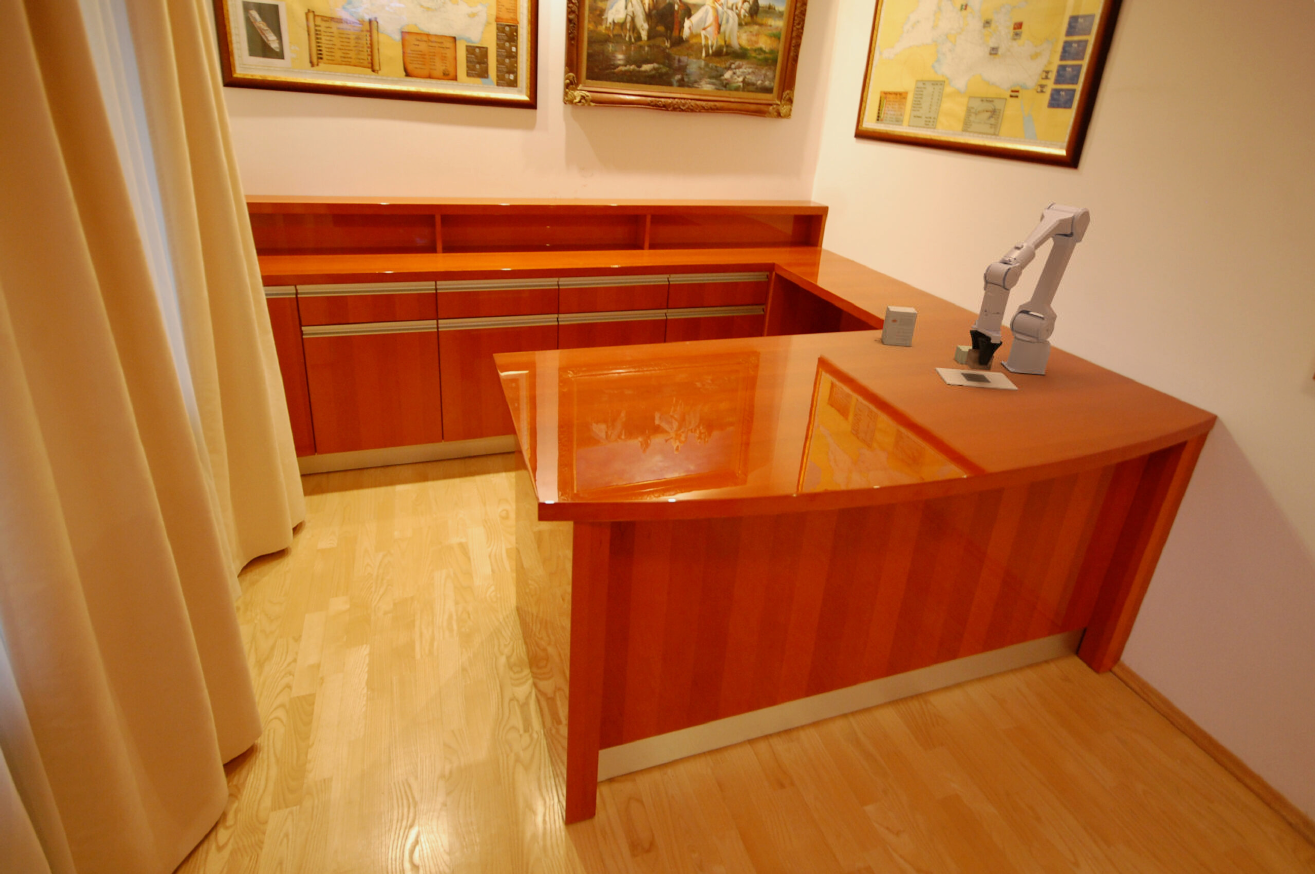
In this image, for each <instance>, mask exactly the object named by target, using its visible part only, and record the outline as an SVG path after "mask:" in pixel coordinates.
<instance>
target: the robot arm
mask: <svg viewBox="0 0 1315 874" xmlns="http://www.w3.org/2000/svg"><path fill="white" fill-rule="evenodd" d="M1090 222H1091V215H1090V211H1089V209H1088V208H1086V207H1079V206H1078V207H1077V206H1072V205H1066V204H1058V203H1055V202H1051V203H1049V204H1048V205H1047V206H1046V207H1045V208H1044V210H1043V211H1042V212H1041V215H1040V219H1039V223H1038V224H1037V226H1036V227H1035V228H1034V229H1033V230H1032V231H1031V233H1030V234H1029V235H1028V237H1027V238H1026V239H1025V240H1024V242H1023V241H1021V242H1020V241H1019V242H1017V243H1016V244H1014V246H1012V247H1011V249H1010V250H1009V251H1008V252H1007V253H1005V255H1004V256H1003V257H1002V258H1001V259H1000V260H998V261H995V262H993V263H990V264H989V265H988V266H987V267H986V270H985V272H983V282H984V284H983V291H984V294H983V298H982V302H981V306H980V311H979V314H978V318H977V319H975V320H974V323H973V324H974V325H973V324H972V325H971V327H970V330H969V334H970V337H971V339H970V340H971V346H972V349H980V352H979V365H988V363H989V362H990V360H991V358H992V356H993V355H994V354H995V353H996V351H997V350H998V349H999V348H1000V347H1001V346H1002V345H1003V341H1002V335H1001V333H1002V329H1001V327H1002V323H1003V319H1004V316H1005V311H1006V308H1007V304H1008V302H1009V301H1008V300H1009V297H1010V292H1011V289H1013V288H1014V287H1015V286H1016V285H1017V284H1018V281H1019V279H1020V278H1021V276H1022V274H1023V270H1024V269H1026V267H1027V266H1028V265H1030V263H1031V262H1033V261H1034V259H1035V258H1036V251H1037V250H1038V249H1039V248H1040V247H1042V246H1043V245H1044V244H1045V243H1046V242H1047V241H1048V240H1050V239H1052V242H1053V245H1052V247H1051V250H1050V252H1049V254H1048V257H1047V260H1046V262H1045V264H1044V267H1043V269H1042V272H1041V273H1040V276H1039V278H1038V281H1037V283H1036V287H1035V288H1034V291H1033V294H1032V296H1031V298H1030V300H1029V301H1027V302H1025V303H1022V304H1019V306H1018V307H1017V310H1016V311H1015V312H1014V314H1013V316H1012V317H1011V318H1010V322H1009V329H1010V331H1011V336H1013V340H1012V342H1011V347H1010V351H1009V352H1008V353H1009V354H1008V357H1007V361H1004V360H1003V361H1001V364H1002V365H1003V366H1004V367H1005V368H1006V369H1007V370H1008V371H1009V372H1010V373H1018V374H1019V373H1021V374H1033V375H1043V376H1044V375H1046V372H1045V371H1046V368H1047V365H1048V361H1049V358H1050V355H1051V351H1052V350H1051V348H1052V346H1051V342H1050V341H1049V340H1048V339H1049V338H1051V336H1052V335H1053V333H1054V330H1055V325H1056V324H1055V323H1056V321H1057V317H1058V316H1057V313H1056V312H1055V311H1054V309H1053V307H1052V306H1051V305H1052V302H1053V300H1054V298H1055V295H1056V293H1057V291H1058V287H1059V285H1060V284H1061V281H1062V279H1063V276H1064V273H1065V271H1066V269H1067V267H1068V264H1069V261H1070V260H1071V257H1072V255H1073V253H1074V250H1075V248H1076V246H1077V244H1078V243H1081V242H1082V241H1083V239H1084V237H1085V234H1086V232H1087V229H1088V227H1089V225H1090ZM1034 313H1035V314H1034Z"/></svg>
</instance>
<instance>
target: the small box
mask: <svg viewBox="0 0 1315 874" xmlns="http://www.w3.org/2000/svg"><path fill="white" fill-rule="evenodd" d="M884 316H885V317H884V320H883V327H882V330H881V331H882V333H881V338H880V340H881V341H882V342H883V345H887V346H899V347H911V346H912V341H913V337H914V332H915V327H916V322H917V317H918V312H917V310H916V309H915V307H907V306H897V305H896V306H895V305H894V306H893V305H887V306H886V311H885V315H884Z"/></svg>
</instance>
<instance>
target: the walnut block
mask: <svg viewBox="0 0 1315 874" xmlns="http://www.w3.org/2000/svg"><path fill="white" fill-rule="evenodd" d="M979 352H980V349H969V350H968V354H967V358H966V362H965V363H966V364H965V365H966V366H968V368H969V370H975V371H987V372H991V369H992V366H993V362H994V359H995V355H994V354H993V356H992V358H991V360H990V362H989V363H988V365H979Z"/></svg>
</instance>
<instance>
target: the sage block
mask: <svg viewBox="0 0 1315 874" xmlns="http://www.w3.org/2000/svg"><path fill="white" fill-rule="evenodd" d="M969 349H972V345H961V344H959V345H958V344H957V345H956V348H955V351H954V352H955V353H954V357H953V359H954V360H956V362H957V363H959V365H967V364H966V363H965V362H966V358H967V354H968V350H969Z"/></svg>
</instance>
